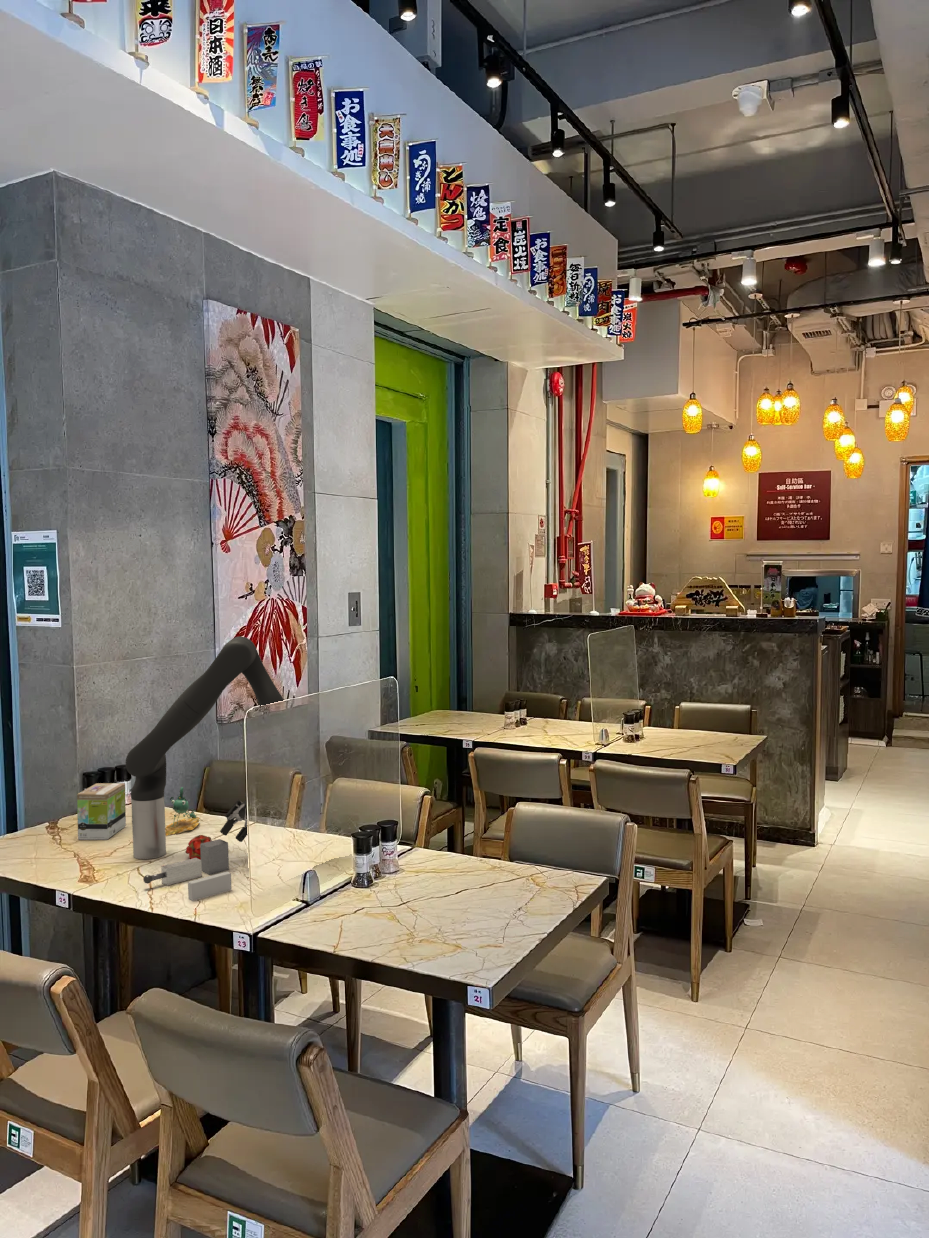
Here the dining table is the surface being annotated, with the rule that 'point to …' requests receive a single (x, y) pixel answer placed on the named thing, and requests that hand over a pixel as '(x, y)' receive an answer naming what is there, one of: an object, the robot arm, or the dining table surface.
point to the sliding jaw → (177, 872)
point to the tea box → (101, 811)
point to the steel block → (214, 856)
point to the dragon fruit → (196, 846)
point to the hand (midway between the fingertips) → (230, 837)
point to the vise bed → (209, 886)
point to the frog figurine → (181, 807)
